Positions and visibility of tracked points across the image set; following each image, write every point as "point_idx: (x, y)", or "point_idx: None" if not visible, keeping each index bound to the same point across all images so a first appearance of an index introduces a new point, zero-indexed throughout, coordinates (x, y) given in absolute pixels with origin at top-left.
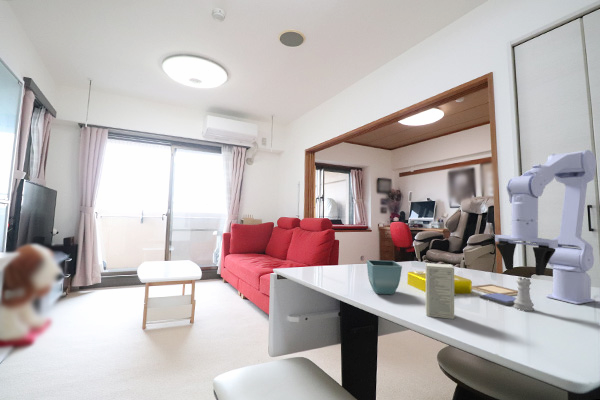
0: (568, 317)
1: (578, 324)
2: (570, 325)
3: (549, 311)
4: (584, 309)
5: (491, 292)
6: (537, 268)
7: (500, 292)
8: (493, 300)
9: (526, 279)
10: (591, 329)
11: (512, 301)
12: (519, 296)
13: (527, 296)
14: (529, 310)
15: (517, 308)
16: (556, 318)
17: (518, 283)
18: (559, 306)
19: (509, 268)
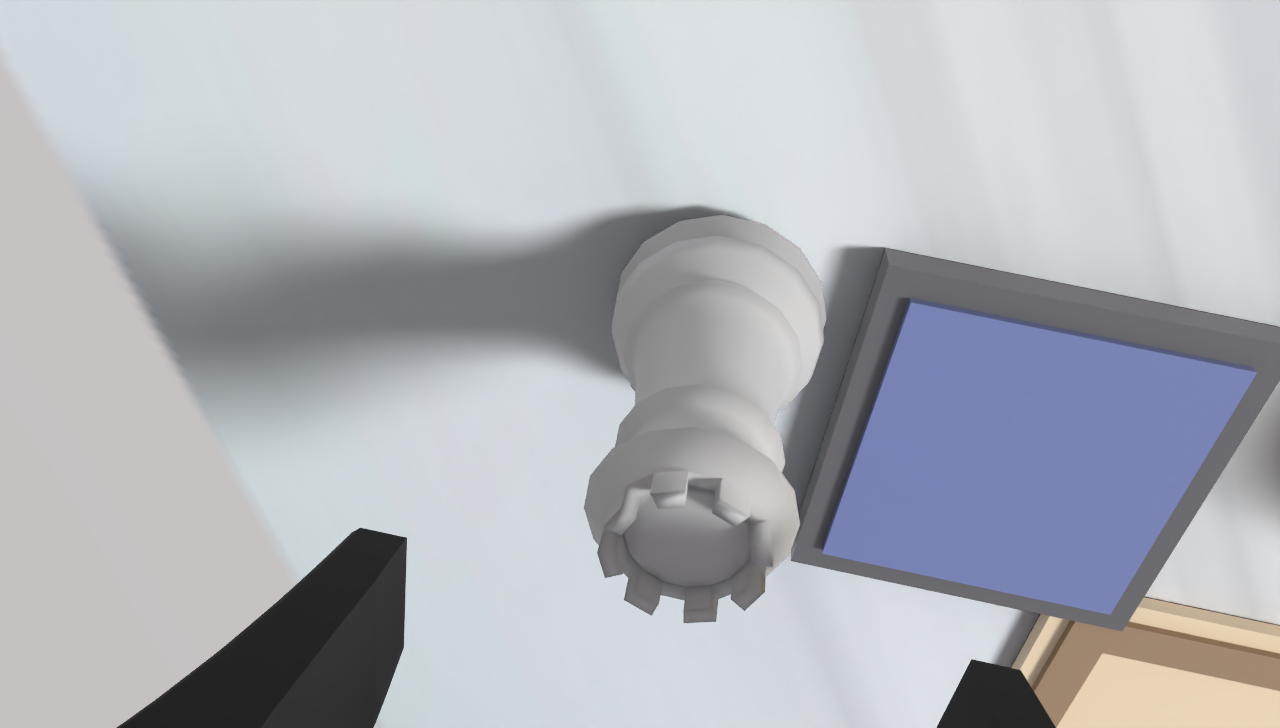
0: (360, 381)
1: (204, 219)
2: (205, 105)
3: (536, 439)
4: (431, 719)
5: (1196, 637)
6: (303, 616)
7: (1109, 708)
8: (1078, 297)
9: (626, 522)
10: (78, 155)
11: (872, 403)
12: (737, 326)
13: (646, 359)
14: (638, 260)
15: (754, 224)
16: (386, 242)
17: (749, 448)
18: (567, 666)
19: (957, 711)
